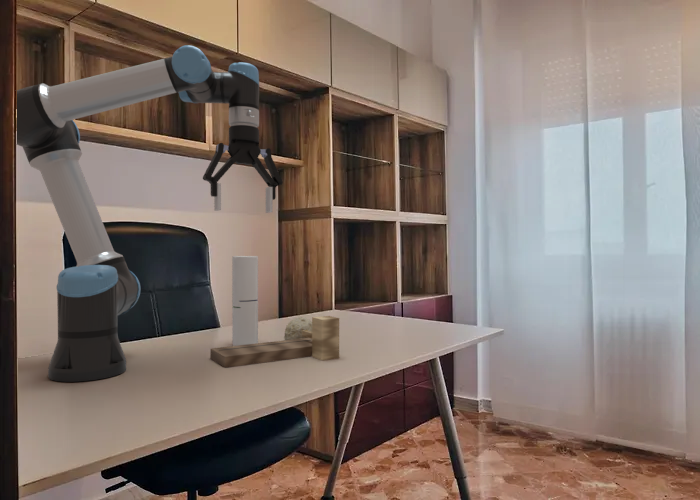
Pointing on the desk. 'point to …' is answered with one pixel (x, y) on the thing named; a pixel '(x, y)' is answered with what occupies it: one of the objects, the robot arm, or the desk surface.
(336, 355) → the wooden lever on block
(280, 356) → the board
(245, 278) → the cylindrical container
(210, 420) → the desk surface
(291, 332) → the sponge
